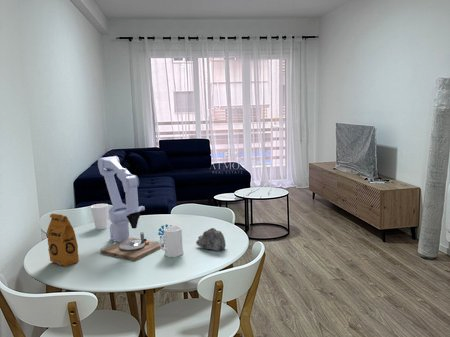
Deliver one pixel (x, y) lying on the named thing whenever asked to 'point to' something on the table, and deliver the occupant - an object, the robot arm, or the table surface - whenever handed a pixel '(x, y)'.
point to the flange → (134, 244)
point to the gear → (162, 231)
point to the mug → (172, 241)
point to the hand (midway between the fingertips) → (134, 227)
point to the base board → (134, 254)
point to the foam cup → (100, 215)
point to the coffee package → (62, 241)
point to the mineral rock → (212, 240)
